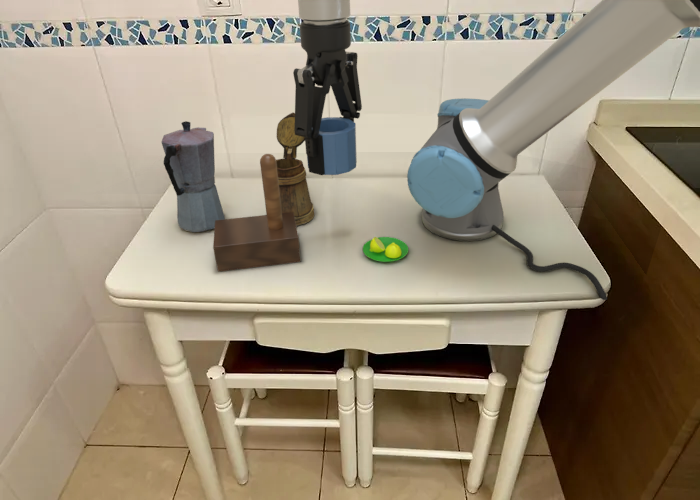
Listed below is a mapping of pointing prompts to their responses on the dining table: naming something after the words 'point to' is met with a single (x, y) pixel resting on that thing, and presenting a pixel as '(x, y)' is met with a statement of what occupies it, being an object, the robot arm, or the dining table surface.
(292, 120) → the wooden mug
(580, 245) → the dining table surface
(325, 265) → the dining table surface
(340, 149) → the blue faceted cup
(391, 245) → the green plate
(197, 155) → the moka pot
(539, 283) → the dining table surface
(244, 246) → the peg box
